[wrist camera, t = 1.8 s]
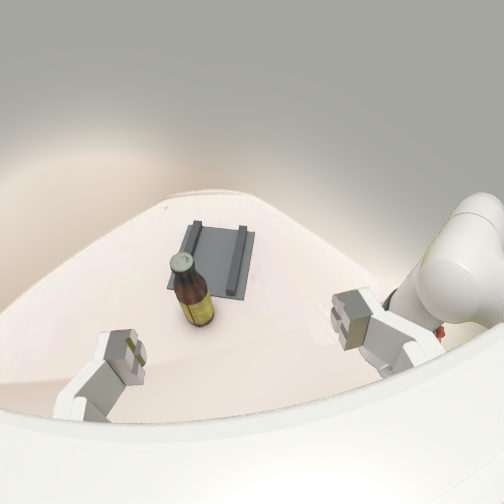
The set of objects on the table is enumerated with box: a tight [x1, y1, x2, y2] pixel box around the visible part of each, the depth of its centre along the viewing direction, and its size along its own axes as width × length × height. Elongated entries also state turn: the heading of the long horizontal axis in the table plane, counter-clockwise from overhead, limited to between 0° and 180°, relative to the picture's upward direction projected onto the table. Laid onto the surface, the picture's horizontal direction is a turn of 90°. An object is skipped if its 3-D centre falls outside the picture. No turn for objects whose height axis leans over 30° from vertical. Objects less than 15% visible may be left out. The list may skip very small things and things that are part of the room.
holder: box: [167, 220, 255, 300], centre depth 69 cm, size 18×20×3 cm
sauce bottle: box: [170, 252, 214, 326], centre depth 54 cm, size 7×6×20 cm
